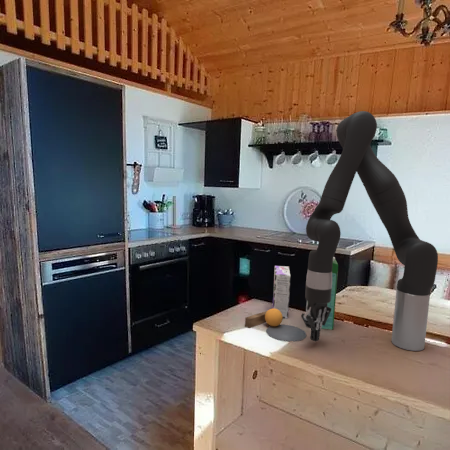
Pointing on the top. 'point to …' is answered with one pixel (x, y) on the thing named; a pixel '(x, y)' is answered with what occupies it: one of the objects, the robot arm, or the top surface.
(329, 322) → the milk carton
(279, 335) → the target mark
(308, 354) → the top surface
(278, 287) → the candy box
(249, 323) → the bar
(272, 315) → the ball
